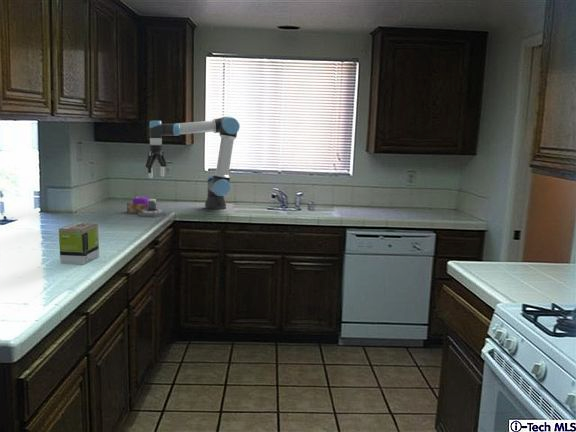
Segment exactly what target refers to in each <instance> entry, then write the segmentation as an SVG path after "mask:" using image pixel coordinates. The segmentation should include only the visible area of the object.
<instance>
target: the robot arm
mask: <svg viewBox="0 0 576 432" xmlns="http://www.w3.org/2000/svg"><path fill="white" fill-rule="evenodd" d="M240 128H241V126H240V121H239V120H238V119H237V118H236V117H235V116H232V115H228V116H223V117H222V116H221V117H219V118H212V119H211V120H204V121H192V122H191V121H190V122H177V123H162V120H149V144H150V145H149V151H151V152H147V153H148V154H147V160H146V163H145V168H147V172H148V173H147V175H148V179H153V177H154V175H153V173H154V172H153V171H154V170H153V165H154V163H155V161H156V160H157V162H158V164H159V166H160V167H159V168H160V169H159V170H160V171H159V173H160V174H159V175H160V177H165V167H167V161H166V158H165V156H164V155H165V154H164V151H162V149H163V146H162V144H163V137H164V136H165V137H166V136H168V137H169V136H170V137H171V136H172V137H173V136H174V137H175V136H180V135H189V134H199V133H214V134H219V135H218V136H219V137H220V143H219V151H218V157H217V164H216V171H215V173H214V174H213V175H209V176H207V180H206V181H207V189H206V190H207V194H206V195H207V196H206V199H205V200H206V201H205V203H204V209H207V210H223V209H224V210H225V209H227V204H226V203H227V202H226V200H225V196H227V195H228V194H229V193H230V191H231V184H230V182H231V176H230V175H229V172H230V166H231V160H232V153H233V149H234V148H233V147H234V140H236V139H237V136H238V132H239V130H240Z"/></svg>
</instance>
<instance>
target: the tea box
mask: <svg viewBox="0 0 576 432" xmlns="http://www.w3.org/2000/svg"><path fill="white" fill-rule="evenodd" d="M58 239H59V240H58V242H59V259H60V260H59V261H60V264H61V265H77V266H78V265H79V266H80V265H85V264H87V263H89V262H91V261H93V260H94V259H96V258H98V257H99V258H100V248H99V247H100V244H99V243H100V241H99V224H98V222H97V223H96V222H73V223H71V224H68V225H65V226H63V227H60V228H58Z"/></svg>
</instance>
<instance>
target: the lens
mask: <svg viewBox="0 0 576 432" xmlns="http://www.w3.org/2000/svg"><path fill="white" fill-rule="evenodd" d="M156 209H157V199H155V198H151V199H148V211H156Z"/></svg>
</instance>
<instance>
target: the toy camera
mask: <svg viewBox="0 0 576 432" xmlns="http://www.w3.org/2000/svg"><path fill="white" fill-rule="evenodd" d="M148 199H152V197H147V196H135V197H134V198H132V203H137V204H145V209H148Z"/></svg>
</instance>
